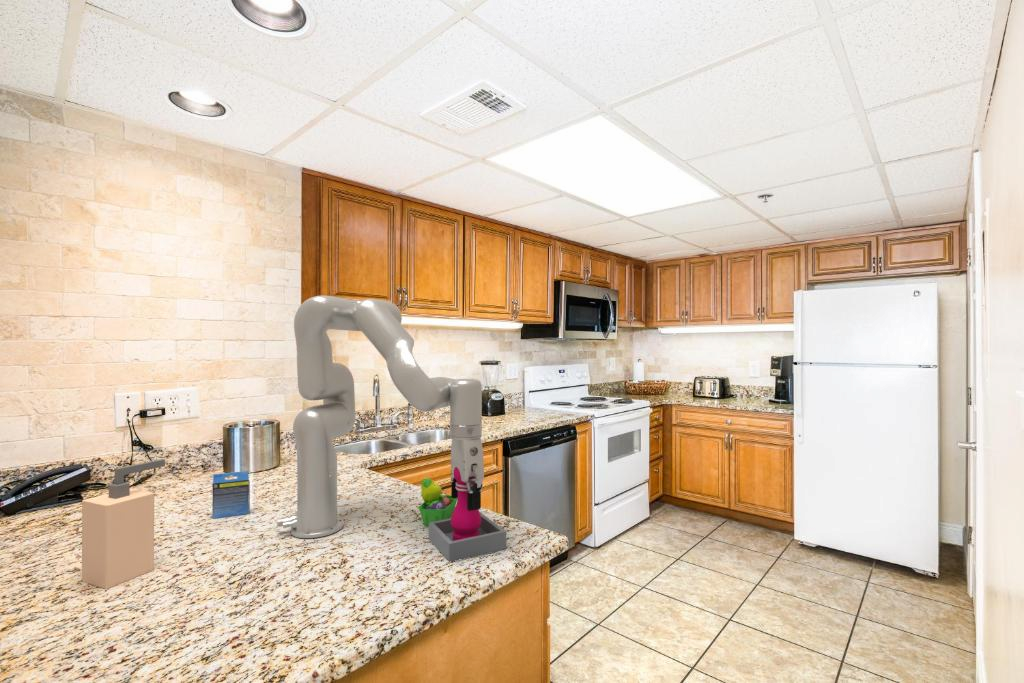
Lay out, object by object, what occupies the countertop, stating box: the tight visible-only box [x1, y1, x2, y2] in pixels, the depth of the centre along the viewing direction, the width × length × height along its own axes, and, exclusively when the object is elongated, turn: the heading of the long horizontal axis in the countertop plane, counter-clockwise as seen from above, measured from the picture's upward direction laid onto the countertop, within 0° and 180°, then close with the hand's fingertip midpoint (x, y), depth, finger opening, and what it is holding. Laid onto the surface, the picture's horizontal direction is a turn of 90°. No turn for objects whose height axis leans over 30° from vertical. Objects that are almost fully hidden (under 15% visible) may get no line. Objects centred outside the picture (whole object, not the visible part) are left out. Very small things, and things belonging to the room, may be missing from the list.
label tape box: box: [211, 470, 251, 520], centre depth 131 cm, size 9×4×12 cm, turn 115°
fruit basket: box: [418, 477, 458, 527], centre depth 126 cm, size 11×9×11 cm
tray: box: [428, 512, 507, 563], centre depth 110 cm, size 14×14×4 cm
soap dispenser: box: [81, 458, 166, 590], centre depth 98 cm, size 13×9×22 cm
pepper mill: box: [450, 467, 481, 541], centre depth 111 cm, size 7×7×20 cm
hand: (465, 503), depth 111 cm, fingers open, 9 cm apart
